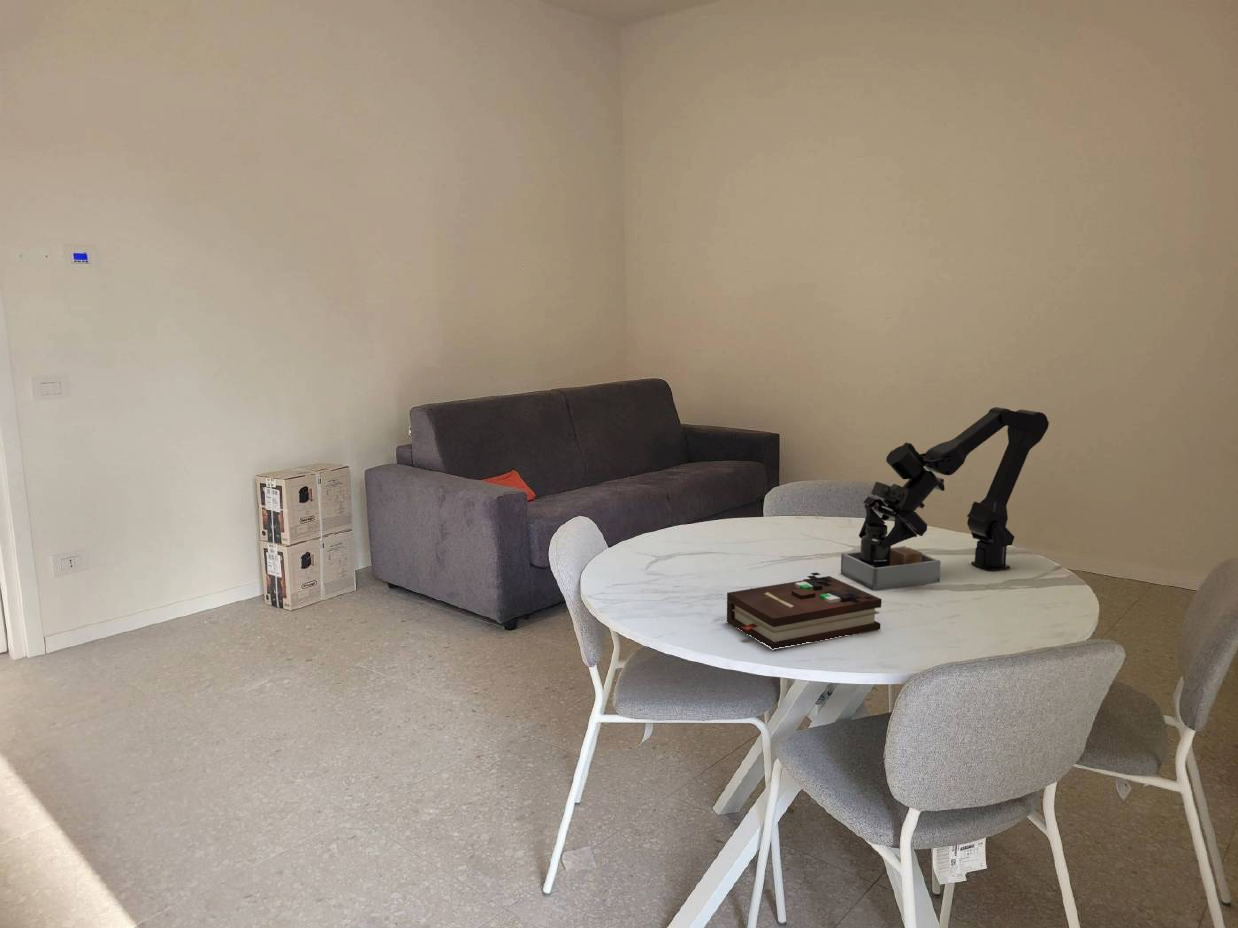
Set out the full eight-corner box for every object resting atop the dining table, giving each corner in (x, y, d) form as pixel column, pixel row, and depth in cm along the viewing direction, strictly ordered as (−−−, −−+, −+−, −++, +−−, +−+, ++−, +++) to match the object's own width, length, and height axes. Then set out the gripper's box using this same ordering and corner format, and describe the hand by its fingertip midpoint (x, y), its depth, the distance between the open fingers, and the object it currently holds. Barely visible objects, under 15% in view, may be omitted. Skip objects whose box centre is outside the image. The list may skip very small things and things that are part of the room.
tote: (903, 565, 223) (904, 546, 222) (939, 581, 210) (940, 561, 209) (840, 573, 217) (841, 553, 217) (873, 590, 205) (874, 569, 204)
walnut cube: (908, 567, 218) (908, 547, 217) (921, 573, 213) (922, 552, 213) (890, 569, 217) (891, 549, 216) (903, 575, 212) (903, 554, 211)
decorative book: (713, 588, 185) (834, 569, 197) (713, 624, 187) (833, 602, 198) (766, 618, 168) (895, 595, 180) (765, 657, 169) (893, 631, 181)
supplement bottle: (879, 581, 208) (880, 530, 206) (853, 575, 213) (855, 525, 211) (895, 575, 212) (897, 525, 210) (870, 569, 217) (871, 520, 215)
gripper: (871, 462, 218) (829, 511, 217) (918, 477, 200) (871, 530, 199) (899, 492, 221) (857, 540, 220) (947, 509, 204) (901, 561, 203)
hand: (870, 542), depth 211 cm, fingers open, 9 cm apart
